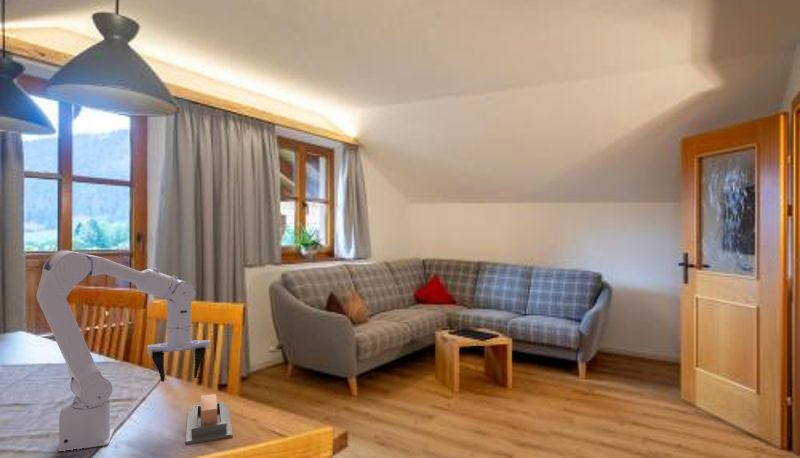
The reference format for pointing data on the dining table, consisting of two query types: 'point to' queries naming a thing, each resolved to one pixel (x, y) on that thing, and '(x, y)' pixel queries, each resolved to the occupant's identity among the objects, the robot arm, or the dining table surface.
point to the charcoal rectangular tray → (208, 425)
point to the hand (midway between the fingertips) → (179, 378)
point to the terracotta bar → (208, 409)
